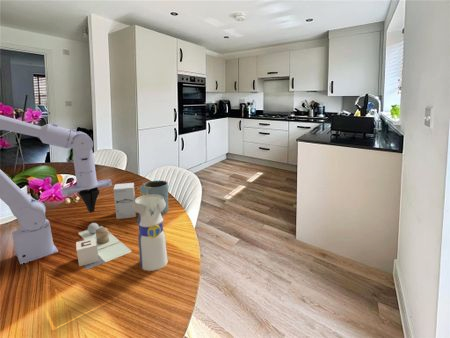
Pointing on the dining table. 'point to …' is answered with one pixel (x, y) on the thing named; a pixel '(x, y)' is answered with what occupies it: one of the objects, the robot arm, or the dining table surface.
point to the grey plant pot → (159, 191)
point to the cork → (102, 236)
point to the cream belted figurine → (151, 230)
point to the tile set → (110, 251)
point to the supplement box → (124, 200)
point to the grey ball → (93, 227)
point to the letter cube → (87, 251)
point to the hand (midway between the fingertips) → (91, 211)
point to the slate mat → (94, 263)
